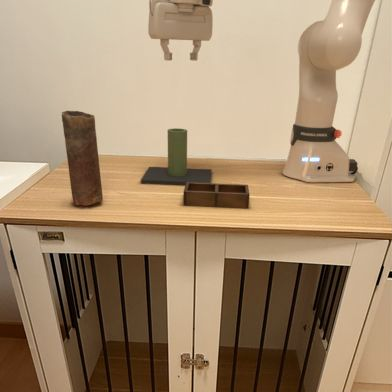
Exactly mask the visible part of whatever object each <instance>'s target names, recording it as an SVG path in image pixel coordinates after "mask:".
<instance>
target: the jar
mask: <svg viewBox="0 0 392 392" xmlns="http://www.w3.org/2000/svg"><path fill="white" fill-rule="evenodd" d="M167 167H168V175H170V176H174V177H182V176H186V175H187V168H188V129H186V128H179V127H178V128H169V129H167Z"/></svg>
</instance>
